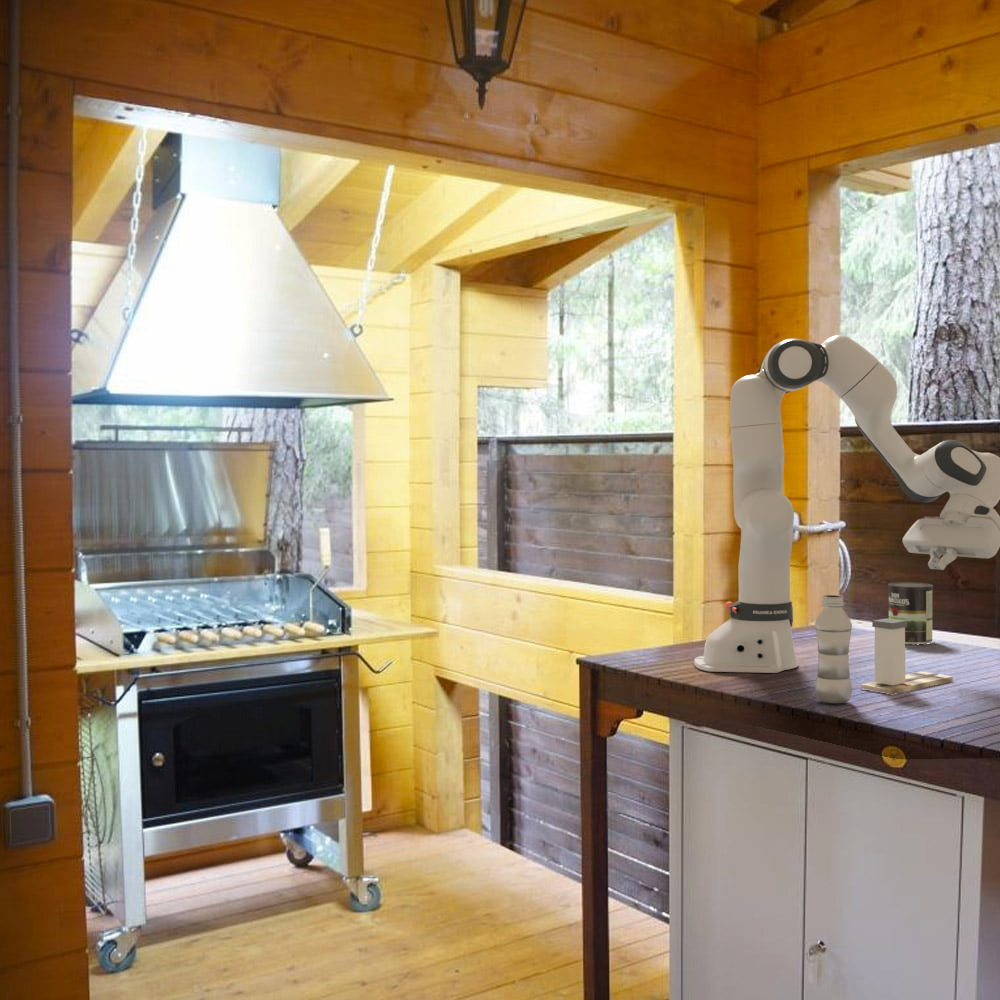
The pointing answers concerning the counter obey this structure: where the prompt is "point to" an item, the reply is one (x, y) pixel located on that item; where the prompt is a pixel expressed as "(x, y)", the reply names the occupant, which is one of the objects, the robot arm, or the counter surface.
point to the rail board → (910, 683)
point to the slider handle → (889, 651)
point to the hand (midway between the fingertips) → (935, 567)
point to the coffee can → (912, 609)
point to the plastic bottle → (833, 652)
